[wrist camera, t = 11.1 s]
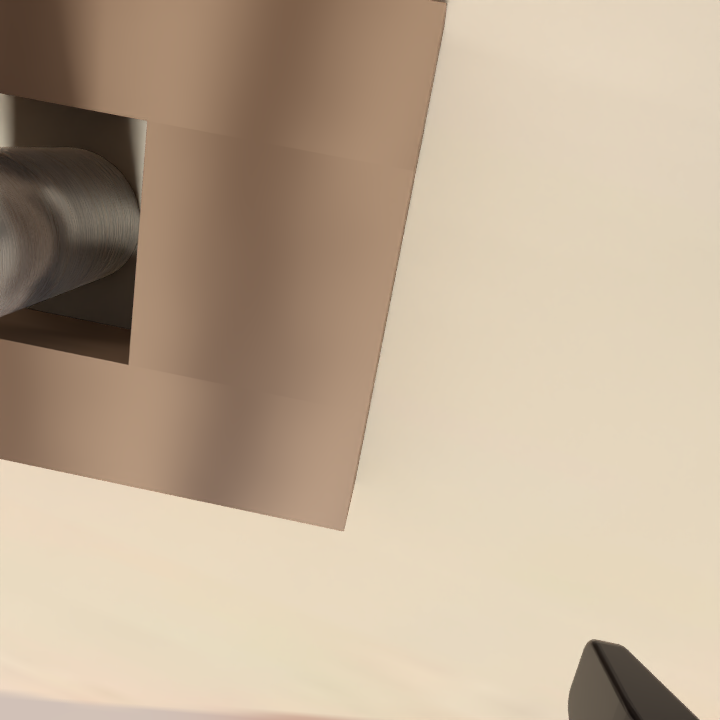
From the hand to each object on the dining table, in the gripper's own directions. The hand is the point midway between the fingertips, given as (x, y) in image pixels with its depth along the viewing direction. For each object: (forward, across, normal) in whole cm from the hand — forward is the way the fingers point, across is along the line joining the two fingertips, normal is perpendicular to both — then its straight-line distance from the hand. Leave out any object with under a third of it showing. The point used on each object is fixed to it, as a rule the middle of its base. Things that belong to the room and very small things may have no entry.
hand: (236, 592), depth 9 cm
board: (+13, +9, -2) cm, 16 cm away
